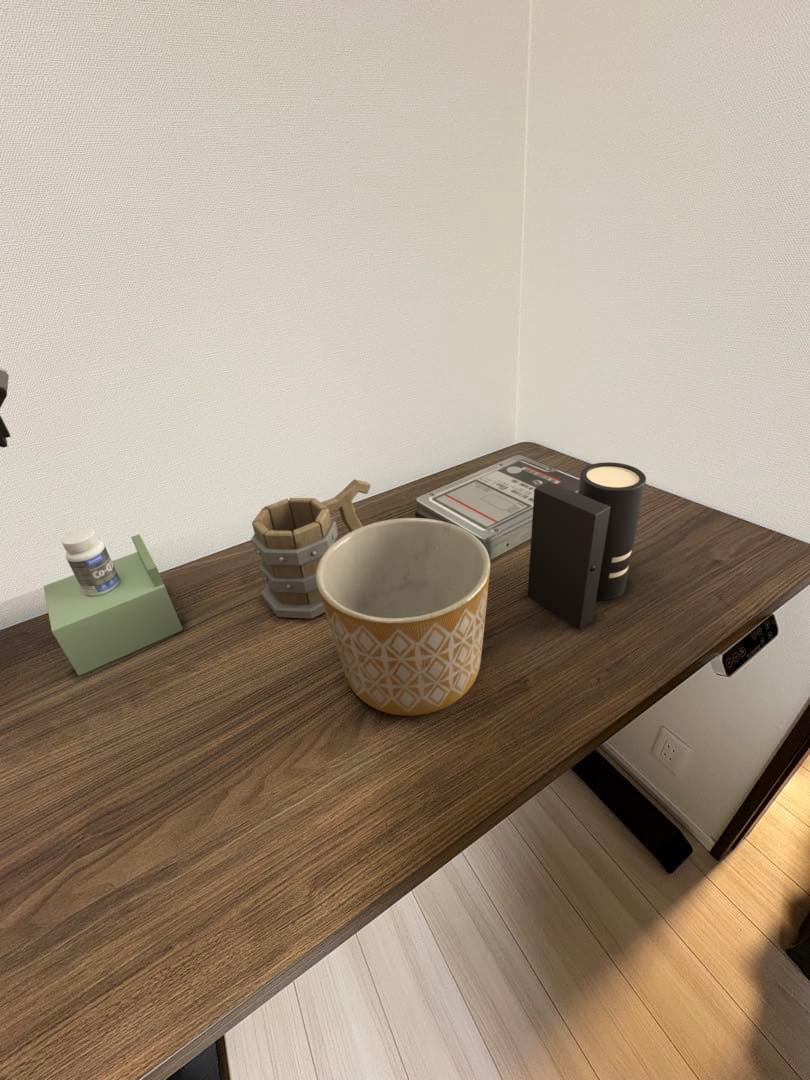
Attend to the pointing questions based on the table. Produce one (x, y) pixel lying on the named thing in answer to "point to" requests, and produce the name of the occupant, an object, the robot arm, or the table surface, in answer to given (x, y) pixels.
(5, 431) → the robot arm
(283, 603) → the tankard
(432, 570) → the planter
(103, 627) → the green block with fin
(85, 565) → the pill bottle
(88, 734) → the table surface
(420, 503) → the hard drive
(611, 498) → the light fixture
